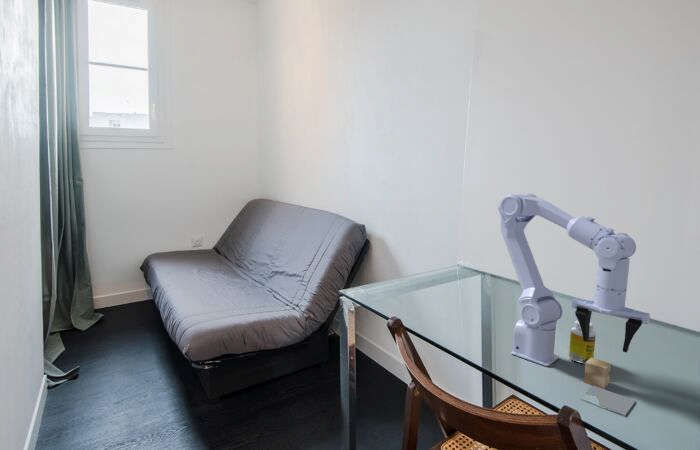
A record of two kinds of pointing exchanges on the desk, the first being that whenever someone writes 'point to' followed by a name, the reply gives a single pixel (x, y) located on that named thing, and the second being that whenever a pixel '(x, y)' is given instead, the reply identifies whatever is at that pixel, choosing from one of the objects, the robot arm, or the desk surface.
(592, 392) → the pad
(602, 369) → the oak block
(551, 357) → the robot arm
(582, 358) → the supplement bottle
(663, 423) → the desk surface
